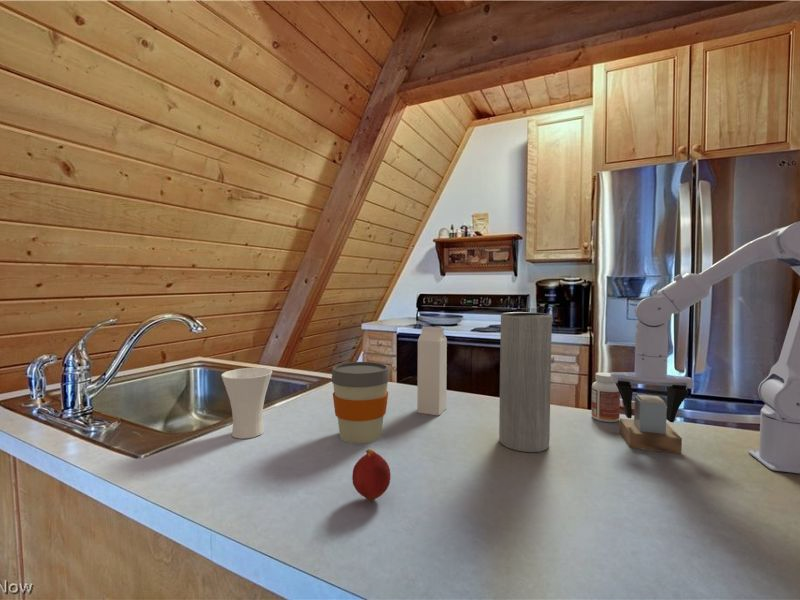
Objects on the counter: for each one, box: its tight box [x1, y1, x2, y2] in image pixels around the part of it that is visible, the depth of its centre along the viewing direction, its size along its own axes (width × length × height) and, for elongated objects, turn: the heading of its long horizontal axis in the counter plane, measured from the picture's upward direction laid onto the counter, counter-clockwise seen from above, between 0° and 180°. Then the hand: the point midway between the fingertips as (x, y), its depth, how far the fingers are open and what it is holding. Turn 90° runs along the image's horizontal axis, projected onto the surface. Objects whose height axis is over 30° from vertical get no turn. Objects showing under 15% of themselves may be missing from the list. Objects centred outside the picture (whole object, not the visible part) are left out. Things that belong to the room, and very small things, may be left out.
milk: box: [416, 326, 448, 417], centre depth 102 cm, size 6×6×22 cm
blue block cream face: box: [633, 394, 667, 434], centre depth 82 cm, size 5×5×6 cm
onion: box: [351, 448, 391, 502], centre depth 60 cm, size 6×6×8 cm
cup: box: [220, 367, 273, 440], centre depth 86 cm, size 10×10×14 cm
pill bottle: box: [591, 371, 621, 423], centre depth 96 cm, size 6×6×11 cm
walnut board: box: [619, 417, 683, 454], centre depth 82 cm, size 9×9×3 cm
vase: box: [498, 311, 553, 453], centre depth 81 cm, size 10×10×27 cm
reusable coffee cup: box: [331, 361, 390, 444], centre depth 85 cm, size 13×12×15 cm
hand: (649, 418), depth 82 cm, fingers open, 7 cm apart
